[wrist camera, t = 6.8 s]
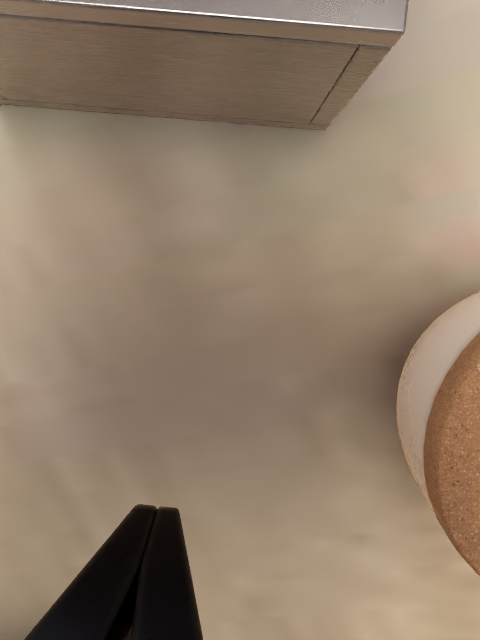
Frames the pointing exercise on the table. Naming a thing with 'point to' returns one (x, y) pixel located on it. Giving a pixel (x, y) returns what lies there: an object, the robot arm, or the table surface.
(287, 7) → the lid
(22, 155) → the table surface
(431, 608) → the table surface
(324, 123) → the tin
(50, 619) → the robot arm
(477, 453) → the trinket box
